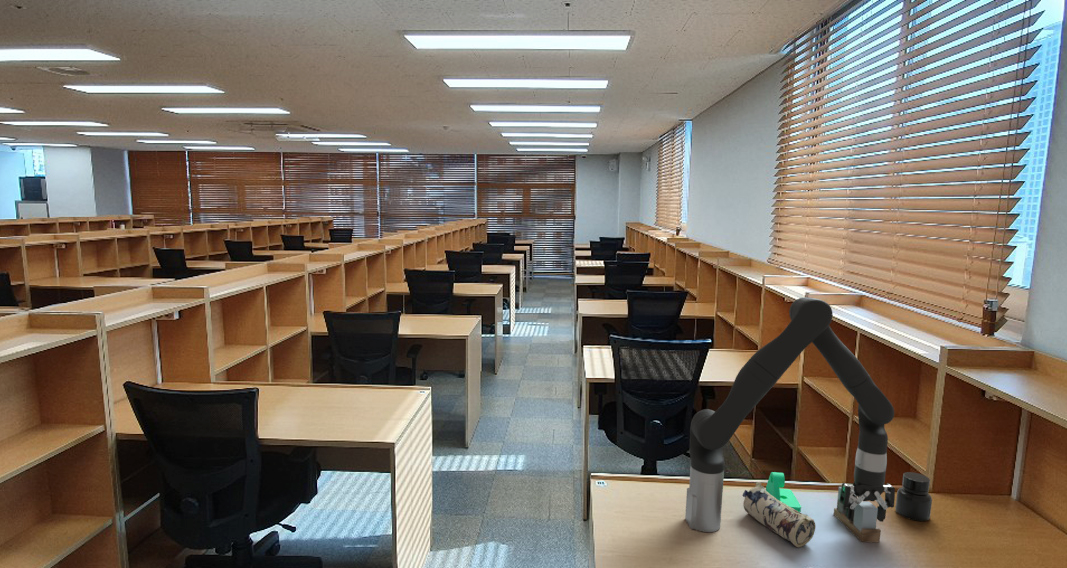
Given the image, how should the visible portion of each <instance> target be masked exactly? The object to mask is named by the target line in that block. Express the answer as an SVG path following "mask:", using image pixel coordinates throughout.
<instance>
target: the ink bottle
mask: <svg viewBox="0 0 1067 568" xmlns="http://www.w3.org/2000/svg"><path fill="white" fill-rule="evenodd" d="M901 483H902V485H901V486H902V487H899V488H898V489H897V492H896V499H895V512H896V513H898V515H900V516H902V517H904V518H906V519H909V520H912V521H914V522H915V521H916V522H925V521H929V520H930V518H931V514H932V504H933V497H932V496H931V494H929V491H930V490H929V489H930V485H931V484H930V483H931V479H930V477H928V476H926V475H924V474H922V473H917V472H914V471H911V472H910V471H907V472H904V473H903V475H902V481H901Z"/></svg>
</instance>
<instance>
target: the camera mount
mask: <svg viewBox="0 0 1067 568" xmlns="http://www.w3.org/2000/svg"><path fill="white" fill-rule="evenodd" d="M769 474H770V475H769V477H768V481H767V483H766V486H765V489H766V491H767V492H768V493H769V494H771V495H772V496H773V497H775V498H776V499H777V500H779V501H781V502H783V503H784V504H786V505H788V506H789V507H791V508H793V509H795V510H796V511H798V512H799V513H801V511H802V505H801V503H800V502H799V500H798V499H797V497H796V495H795V494H794V492H793V490H791V489H789V488H785V485H786V480H785V479H786V478H785V473H784V472H776V471H774V472H773V471H771V472H770V473H769Z"/></svg>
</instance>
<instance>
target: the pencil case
mask: <svg viewBox="0 0 1067 568" xmlns="http://www.w3.org/2000/svg"><path fill="white" fill-rule="evenodd" d="M742 497H744V499H743V502H742V503H743V509H744V511H745V512H746V513H747V514H749V515H750V517H752V518H753V519H754V520H755V521H757V522H759V523H760V524H762V525H763V526H764V527H766V528H767V529H769V530H771V531H772V532H774V533H776V534H777V535H778V536H781V537H782V538H783V539H785V540H787V541H788V542H790V543H791V544H792V545H793V546H794V547H797V548H801V547H803V546H805V545H807V544H808V543H809V542H810V541H811V540H812V539H813V537H814V535H815V533H816V532H815V531H816V522H815V520H814V519H813V518H812V517H810V516H808V515H807V514H803V513H801V512H798V511H796V510H795V509H793V508H791V507H789V506H788V505H786V504H784V503H783V502H781V501H779V500H777V499H776V498H775V497H773V496H772V495H771V494H769V493H768V492H767V491H766V487H764V486H763V485H762V482H760V481H759V482H755V486H754V487H753V488H751V489H750V490H747V489H744V492H743V493H742Z"/></svg>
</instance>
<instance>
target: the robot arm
mask: <svg viewBox="0 0 1067 568" xmlns="http://www.w3.org/2000/svg"><path fill="white" fill-rule="evenodd" d="M788 313H789V315H788V316H789V318H790V320H791V321H790V322H789V323H788V325H787V326H786V327H784V330H783V331H782V332H781V333H780V334H779V335H778V336H776V337H775V338H773V339H772V340H771V341H769V342H768V343H767V344H765V345H763V346H762V347H761V348H759V349H758V350H757V351H756V352H755V353H754V354H753V355H752V356H751V357H750V358H749V359H748V360H747V361H746V363H745V364H744V365H743V366H742V367H741V368H740V369H739V371H738V373H737V374H736V376H735V379H734V381H733V384H732V385H731V388H730V391H729V393H728V395H727V397H726V399H725V400H724V401H723V402H722V404H721V405H720V406H719V407H718V408H717V409H716V410H712V409H709V408H705V409H701V410H699V411H698V412H696V413H695V414H694V415H693V417H692V418H691V422H690V429H689V456H690V471H689V487H687V488H686V497H685V498H686V500H685V512H684V513H685V514H684V515H685V516H684V518H685V521H686V523H687V525H688V526H689V528H690V530H696V531H700V532H703V533H705V532H706V533H713V532H717V531H719V530H720V529H721V521H722V507H723V491H724V477H725V476H724V475H725V464H726V463H725V458H724V453H723V447H725V446H726V444H728V443H729V441H730V440H731V438H733V436H734V434H735V433H736V431H737V430H738V428H739V427H740V426H741V424H742V423H743V421H744V420H745V419H746V417H747V416H748V415H749V414H750V413H751V412H752V410H753V409H754V408H755V407H756V406H757V405H758V404H759V402H760V401H761V400H762V399H763V398H764V397H765V396H766V395H767V394H768V393H769V391H770V390H771V389H772V388H773V387H774V386H775V385H776V384H777V382H778V381H779V380H780V379H781V378H782V376H783V375H784V374H785V373H786V372H787V370H788V369H789V368H790V367H791V365H793V363H794V362H795V361H796V360H797V358H798V357H800V354H801V353H802V352H803V351H804V350H805V349H807V347H809V345H810V344H811V343H812V344H813V346H814V347H815V348H816V349H817V350H818V352H819V353H820V354H821V355H822V356H823V358H824V359H825V361H826V362H827V364H828V365H829V366H830V368H831V369H832V371H833V373H834V374H835V375H836V377H837V379H838V380H839V381H840V382H841V384H842V386H844V388H845V389H846V390H847V392H848V393H849V394H850V395H852V397H854V399H855V401H856V402H857V404H858V406H857V415H858V416H857V417H858V419H857V420H858V428H859V432H858V440H857V441H858V442H857V448H856V453H855V459H854V470H853V471H854V472H853V479H854V481H853V484H847V483H846V482H842V484H841V486H840V487H841V494H840V500H839V502H840V503H841V504H842V505H844V506H845V507H846V513H845V515H846V517H847V519H848V520H849V521H853V520H854V510H855V509H854V508H855V507H856V505H857V504H860V503H861V502H876V503H877V504H878V505H877V506H876V508H878V511H877V520H878V522H880V523H883V522H884V521H885V520H886V515H887V514H886V513H887V510H888V509H889V508H894V507H895V501H896V499H895V498H896V497H895V496H896V495H895V494H896V490H895V487H894V486H893V485H891V483H888V482H887V483H886V482H885V481H886V473H887V472H886V471H887V462H888V459H887V458H888V457H887V455H888V453H887V452H888V443H889V442H888V441H889V436H888V433H887V431H886V429H885V425H887V424H890V423H891V422H892V421H893V420H894V417H895V409H894V406H893V404H892V402H891V401H890V400H889V399H888V397H887V396H886V395H885V393H883V391H882V390H881V389H880V388H879V387H878V385H876V383H875V382H874V380H873V379H872V377H871V375H870V374H869V372H868V371H867V370H866V368H865V367H864V366H863V364H862V363H861V361H860V360H859V359H858V358H857V356H856V355H854V353H853V352H852V351H851V350H850V349H849V348H848V347H847V346H846V345H845V344H844V343H843V341H841V340H840V339H839V337H838V336H837V335H836V334H835V332H834V331H833V329H832V328H831V326H830V324H831V323H832V321H833V318H834V317H833V310H832V307H831V305H830V304H829V303H828V302H826V301H825V300H823V299H820V298H815V297H808V296H807V297H805V296H804V297H799V298H797V299H796V300H794V301H793V302H792V303H791V305H790V307H789V311H788ZM885 483H886V484H885ZM852 490H854V491H853V493H852ZM883 492H884V498H883V497H882V494H883ZM850 493H852V494H851V495H850ZM856 496H857V499H856ZM849 497H850V498H849Z"/></svg>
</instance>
